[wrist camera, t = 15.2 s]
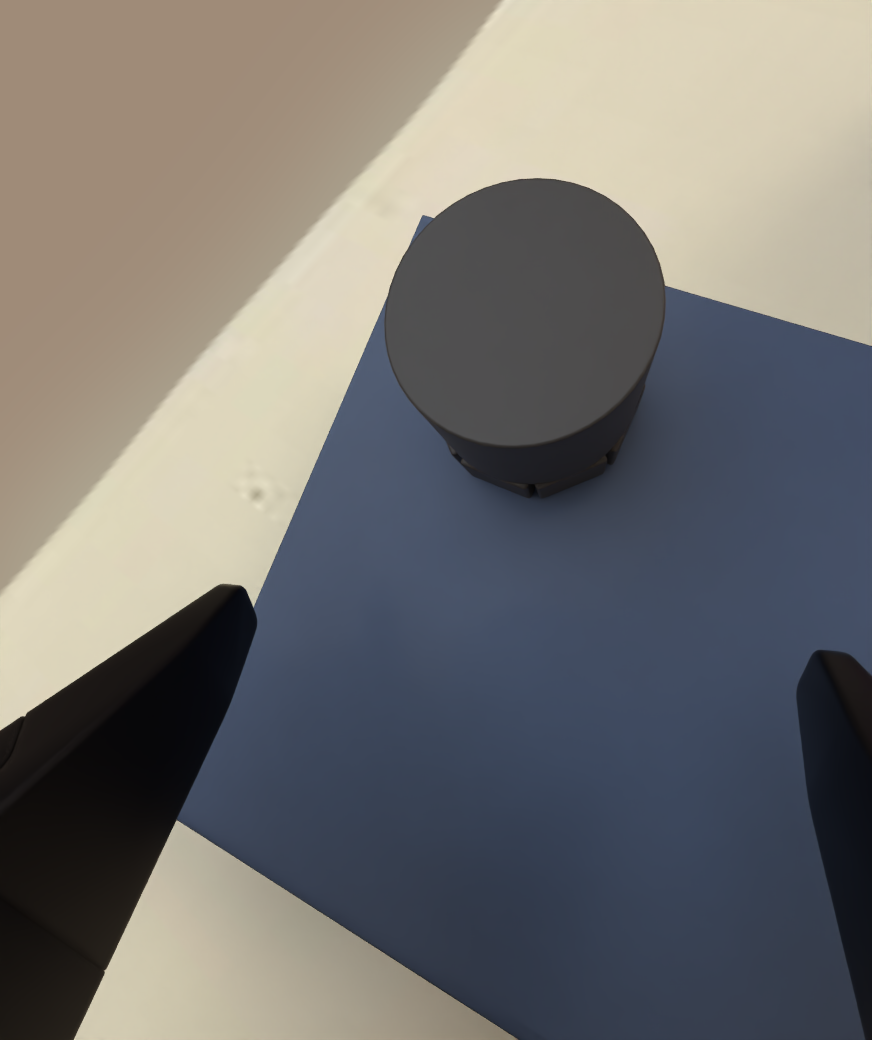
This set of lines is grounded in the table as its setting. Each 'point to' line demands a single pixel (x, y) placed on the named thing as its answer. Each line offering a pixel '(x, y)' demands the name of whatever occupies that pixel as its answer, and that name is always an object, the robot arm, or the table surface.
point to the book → (571, 697)
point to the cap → (528, 331)
